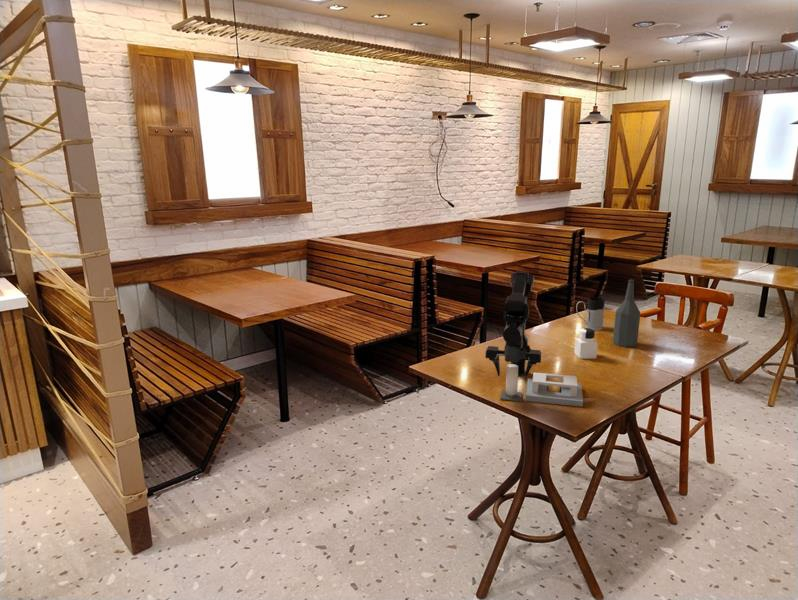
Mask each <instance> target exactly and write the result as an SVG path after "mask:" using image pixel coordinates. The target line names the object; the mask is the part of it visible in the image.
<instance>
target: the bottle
mask: <svg viewBox="0 0 798 600" xmlns="http://www.w3.org/2000/svg"><path fill="white" fill-rule="evenodd" d="M627 282H628V284H627V288H626V292H625V296H624V300H623V302H622V303H621V304H620V305H619V306H618V308H617V309H616V310H615V315H614V325H613V338H612V342H613V344H614V345H616V346H619V347H621V348H622V347H623V348H633V347H636V345H638V341H639V340H638V339H639V331H640V329H639V328H640V321H641V311H640V309H639V308H638V305H637V303H636V302H635V298H634V297H635V293H634V291H635V289H634V288H635V284H634V283H635V280H634V279H628V280H627Z"/></svg>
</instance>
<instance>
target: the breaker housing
mask: <svg viewBox="0 0 798 600" xmlns="http://www.w3.org/2000/svg"><path fill="white" fill-rule="evenodd" d="M547 378H552V379H553V378H554V379H562V381H559V380H549V379H548V380H547ZM577 380H578V379H577V376H575V375H565V374H555V373H544V372H533V375H532V378H527V383H526V390H525V391H526V392H525V401H526V402H533V403H534V402H535V403H543V404H553V405H561V406H562V405H563V406H564V405H565V406H569V407H570V406H572V407H580V408H581V407H583V406H584V400H583V399H584V398H583V389H582V383H579V382H578V381H577ZM550 385H551V386H559V387H560V393H558V392H548V386H550Z"/></svg>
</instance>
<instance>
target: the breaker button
mask: <svg viewBox="0 0 798 600" xmlns="http://www.w3.org/2000/svg"><path fill="white" fill-rule="evenodd" d="M548 392H558V393H561V392H560V387H559V386H551V385H550V386H548Z"/></svg>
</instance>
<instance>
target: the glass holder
mask: <svg viewBox="0 0 798 600" xmlns="http://www.w3.org/2000/svg"><path fill="white" fill-rule="evenodd" d="M605 301H606V299H605V298H603V297H597V296H592V297H588V301H587V302H588V304H587V308H586V303H585V301H582V300H581V301H580V300H579V301H578V302H577V303H576V308H575V309H576V314H577V316H578V317H579V318H580V319H581V320H582V321H584V323H585V326H584V328H590V329H593V330H594V331H603V330H604V316H605ZM579 303H583V305H584V310H585V311H586V320H585V319H584V318H583V317H581V315H580V313H579V311H578V305H579ZM602 329H603V330H602Z"/></svg>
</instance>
